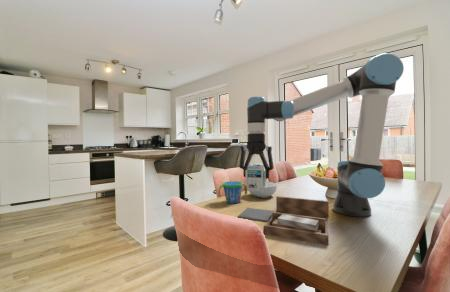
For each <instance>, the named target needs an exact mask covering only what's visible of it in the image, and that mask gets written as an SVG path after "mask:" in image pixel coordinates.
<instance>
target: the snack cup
mask: <svg viewBox="0 0 450 292" xmlns="http://www.w3.org/2000/svg"><path fill="white" fill-rule="evenodd" d="M243 186H244V195H247V194H248V186H247V185H246V183H243V182H242V181H238V180H237V181H236V180H235V181H234V180H233V181H232V180H231V181H230V180H229V181H224V182H223V183H222V184H220V186H219V188H218V191H217V194H218V197H219V198H221V189H222V188H223V192H224V196H225V201H226V203H228V204H239V203H240V202H241V196H242V189H243Z"/></svg>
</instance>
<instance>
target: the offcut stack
mask: <svg viewBox="0 0 450 292" xmlns="http://www.w3.org/2000/svg"><path fill="white" fill-rule="evenodd" d="M272 226H276V227H283V228H290V229H296V230H303V231H310V232H317V233H321V230H318V226H319V220H314V219H308V218H302V217H296V216H291V215H285V214H282V215H281V216H280V217H278V218H276V219H275V220H274V221H273V223H272Z"/></svg>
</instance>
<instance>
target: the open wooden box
mask: <svg viewBox="0 0 450 292" xmlns="http://www.w3.org/2000/svg"><path fill="white" fill-rule="evenodd" d="M329 201H330V200H323V199H321V200H320V199H310V198H309V199H308V198H300V197H299V198H298V197H290V196H289V197H287V196H280V195H279V196H278V195H277V196H276V201H275V203H276V205H275V206H276V209H275V212H272V216H271V218H270V219H269V221H268V222H266V224H263V235H265V236H267V235H268V236H273V237H280V238H286V239H289V240H290V239H292V240H298V241H302V242H303V241H305V242H309V243H315V244H321V245H326V244H327V245H329V243H330V242H329V241H330V240H329V239H330V238H329V236H330V234H329V221H330V220H329V219H330V218H329V211H330V210H329V209H330V207H329V204H330V202H329ZM282 214H285V215H291V216H296V217H302V218H308V219H314V220H319V226H318V230H321V233H317V232H310V231H303V230H296V229H290V228H283V227H276V226H272V223H273V221H274V220H275V219H276V218H278V217H280V216H281V215H282ZM327 245H326V246H327Z"/></svg>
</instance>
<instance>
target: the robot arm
mask: <svg viewBox="0 0 450 292" xmlns="http://www.w3.org/2000/svg"><path fill="white" fill-rule="evenodd" d="M403 73H404V63H403V61H402V60H401V59H400V58H399V57H398V56H397V55H395V54H393V53H379V54H377V55H375V56H373V57H372V58H370V59H369V60H368V61H367V62H366V63H365V64H364V65H363V66H361V67H360V68H359V69H358V70H356V71H355V72H353V73H351V74H349V75H347V76H344V77H343V78H342V80H340V81H338V82H336V83H333V84H329V85H328V86H325V87H324V86H323V87H322V88H320V89H318V90H315V91H312V92H310V93H307V94H304V95H300V96H299V97H296V98H294V99H291V100H286V99H285V100H277V101H272V100H271V101H266V99H265V97H264V96H251V97H249V98H248V99H247V108H246V109H247V112H246V115H247V144H246V145H241V146H240V150H241V151H240V160H239V167H238V168H240V169H242V170H243V177H244V178H245V185H246V186H248V165H249V164H250V163H251V160H252V158H253V155H259V157H260V159H261V162H262V164H263V165H264V186H267V182H268V179H269V178H270V171H271V170H274V169H275V167H274V162H273V161H274V160H273V153H272V151H273V147H272V146H268V145H266V134H265V132H266V128H265V127H266V120H274V121H276V122H280V123H281V122H284V121H286V120H288V119H293V118H294V117H295V116H298V115H300V114H301V115H302V114H303V113H306V112H309V111H312V110H314V109H317V108H321V107H323V106H325V105H328V104H331V103H334V102H336V101H339V100H341V99H342V100H343V99H345V98H351V99H352V98H354V97H357V96H361V105H360V110H359V111H360V112H359V118H358V122H357V123H358V124H357V125H358V126H357V131H356V138H355V143H354V153H353V156H352V157H351V158H349V159H348V160H342V161H341V160H340V161H339V162H337V193H336V196H335V199H334V202H333V203H332V204H333V205H332V207H333V209H332V210H333V211H334V212H336V213H337V214H340V215H344V216H350V217H361V218H363V217H369V216H371V214H372V208H371V204H370V202H369V199H373V198H376V197H378V196H379V195H381V194H382V193H383V191H384V190H385V189H386V179H385V177H384V175H383V174H382V173H383V167H384V164H383V163H382V162H381V161H380V155H381V149H382V144H383V143H382V142H383V137H384V136H383V135H384V129H385V123H386V117H387V116H386V115H387V111H388V105H389V98H390V96H392V95H393V94H394V93H395V90H396V85H397V82H398V81H399V80H400V78H401V77H402V76H403ZM247 150H248V154H247V157H246V151H247ZM265 150H266V154H267V158H268V159H267V158H266V156H265V153H264V151H265ZM267 160H268V161H267Z"/></svg>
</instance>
